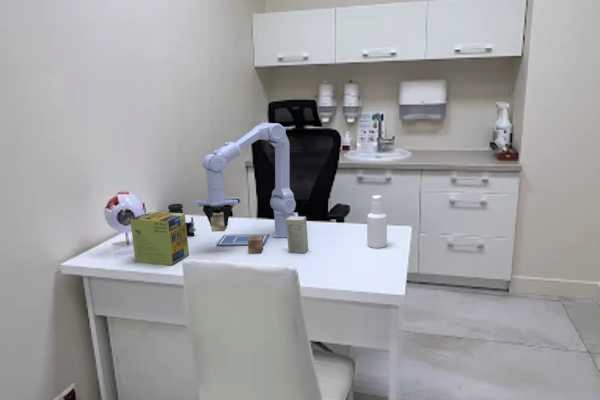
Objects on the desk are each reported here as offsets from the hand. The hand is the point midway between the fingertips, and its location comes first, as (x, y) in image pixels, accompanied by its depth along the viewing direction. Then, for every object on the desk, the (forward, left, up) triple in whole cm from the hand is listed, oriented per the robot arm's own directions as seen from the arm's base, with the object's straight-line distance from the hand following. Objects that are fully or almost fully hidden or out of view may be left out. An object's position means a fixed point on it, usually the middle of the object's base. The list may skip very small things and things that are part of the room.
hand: (219, 225), depth 166 cm
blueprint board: (-6, -10, -9) cm, 15 cm away
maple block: (0, 0, -1) cm, 1 cm away
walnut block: (-13, +2, -9) cm, 16 cm away
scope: (+20, -14, -10) cm, 26 cm away
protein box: (+19, +8, -10) cm, 23 cm away
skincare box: (-28, +2, -10) cm, 30 cm away
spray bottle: (-56, -3, -10) cm, 57 cm away
